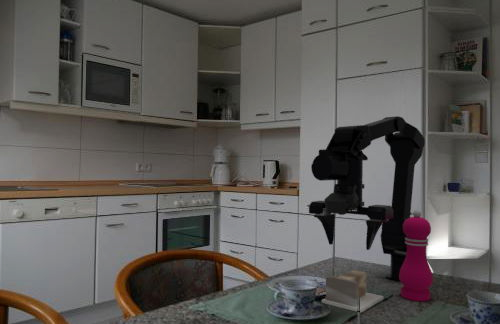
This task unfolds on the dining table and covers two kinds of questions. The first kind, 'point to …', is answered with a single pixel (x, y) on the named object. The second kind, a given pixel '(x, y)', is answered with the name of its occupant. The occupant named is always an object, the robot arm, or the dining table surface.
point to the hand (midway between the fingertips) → (349, 246)
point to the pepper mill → (416, 260)
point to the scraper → (346, 287)
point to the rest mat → (365, 302)
